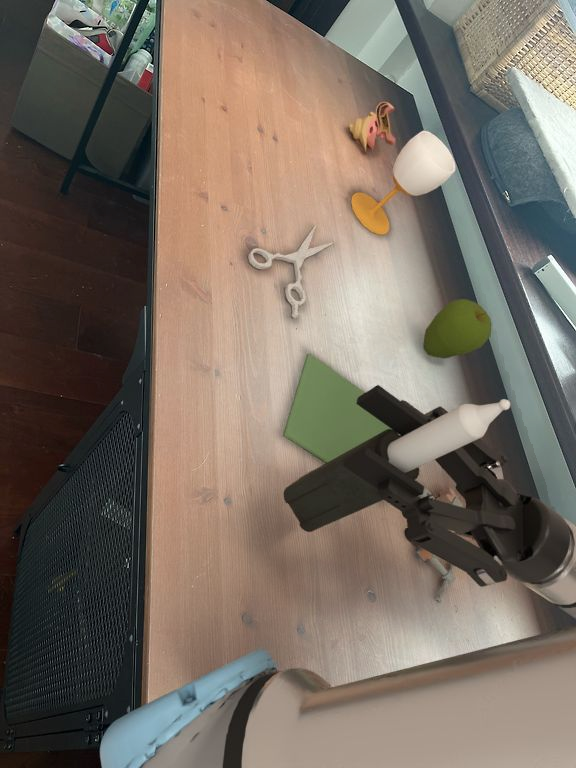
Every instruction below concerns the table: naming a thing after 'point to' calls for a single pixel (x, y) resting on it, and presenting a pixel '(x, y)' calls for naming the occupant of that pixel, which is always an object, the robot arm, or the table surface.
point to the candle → (351, 493)
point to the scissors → (297, 260)
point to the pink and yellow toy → (374, 126)
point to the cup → (408, 178)
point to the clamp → (447, 575)
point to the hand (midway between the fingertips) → (361, 424)
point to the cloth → (328, 413)
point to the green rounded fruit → (457, 329)
